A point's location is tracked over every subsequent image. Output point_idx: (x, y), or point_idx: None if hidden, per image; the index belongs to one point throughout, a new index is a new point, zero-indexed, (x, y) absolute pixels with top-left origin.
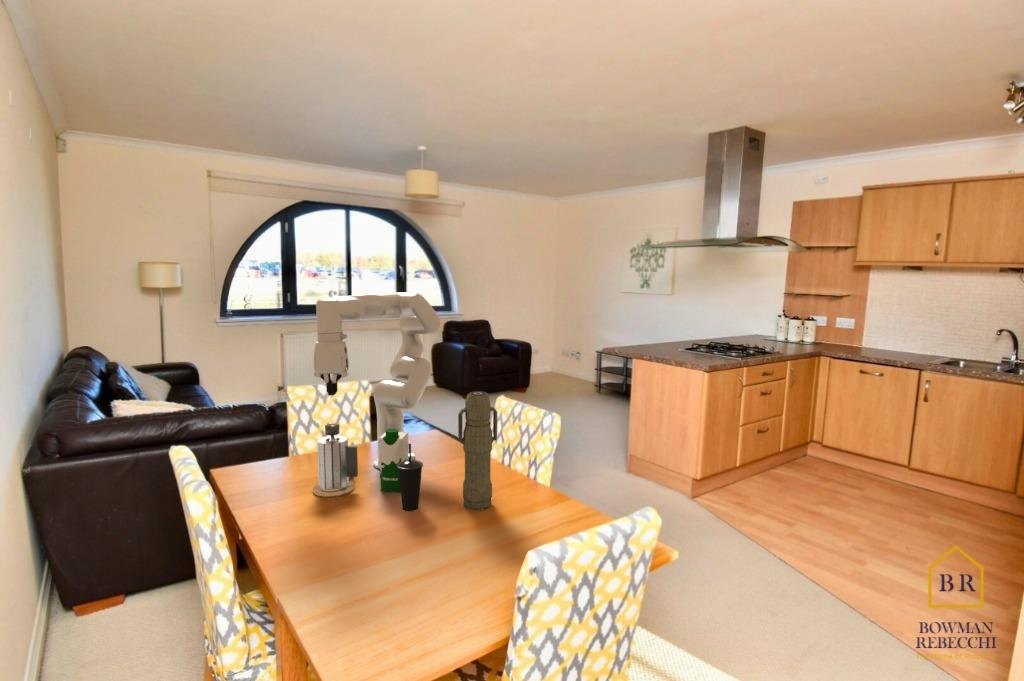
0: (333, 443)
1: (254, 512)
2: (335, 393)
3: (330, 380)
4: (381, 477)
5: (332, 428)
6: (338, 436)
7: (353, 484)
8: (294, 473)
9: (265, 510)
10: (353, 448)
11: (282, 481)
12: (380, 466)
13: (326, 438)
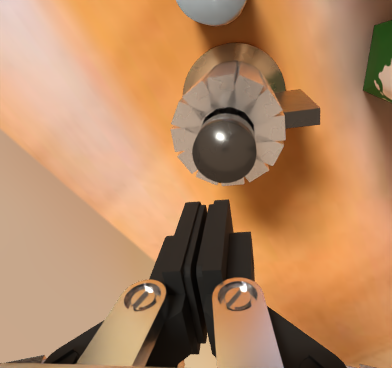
0: (251, 178)
1: (135, 220)
2: (230, 215)
3: (184, 337)
4: (378, 94)
5: (238, 178)
6: (233, 91)
7: (278, 74)
8: (71, 3)
9: (149, 212)
10: (308, 124)
11: (81, 68)
12: (387, 94)
13: (197, 125)
